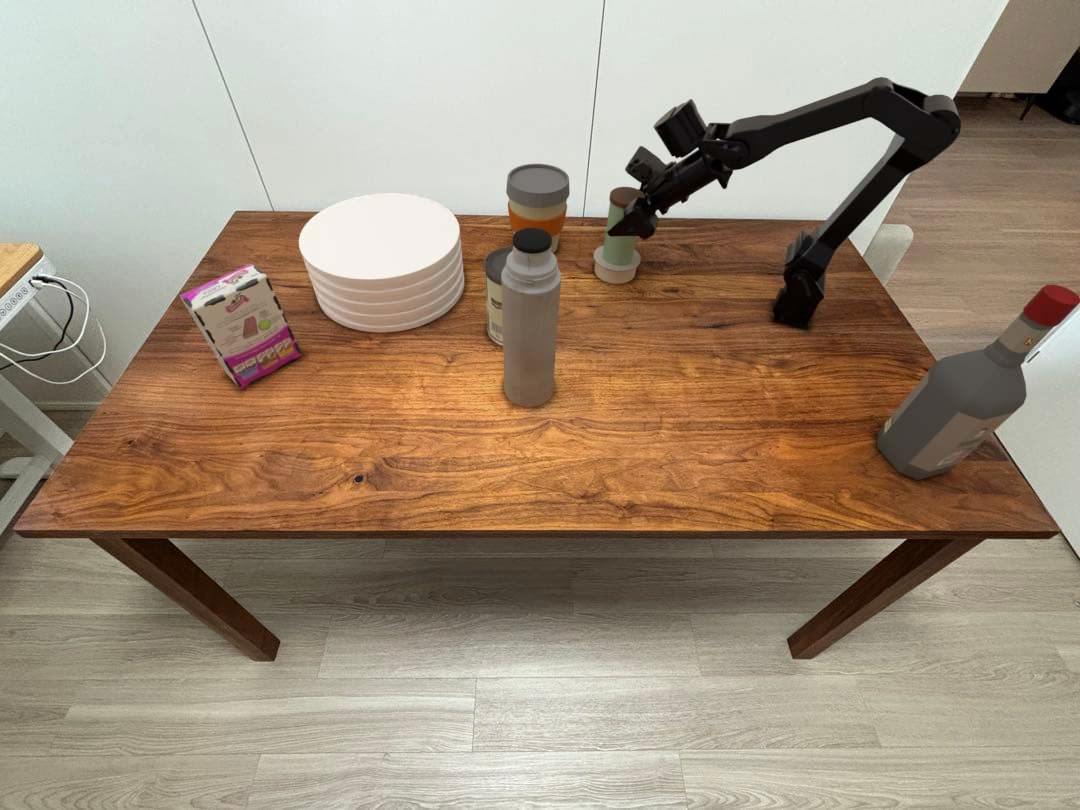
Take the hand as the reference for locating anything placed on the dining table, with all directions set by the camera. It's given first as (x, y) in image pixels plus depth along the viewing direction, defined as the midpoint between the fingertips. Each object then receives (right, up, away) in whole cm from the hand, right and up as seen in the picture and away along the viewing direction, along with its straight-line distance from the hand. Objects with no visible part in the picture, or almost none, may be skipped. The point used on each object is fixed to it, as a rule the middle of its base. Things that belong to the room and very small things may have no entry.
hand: (615, 222), depth 102 cm
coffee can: (-19, -21, -5) cm, 29 cm away
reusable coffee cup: (-15, -1, +13) cm, 20 cm away
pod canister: (+1, -5, +5) cm, 7 cm away
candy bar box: (-60, -28, -13) cm, 68 cm away
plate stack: (-43, -11, +3) cm, 45 cm away
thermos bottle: (-16, -32, -14) cm, 39 cm away
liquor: (+42, -42, -20) cm, 63 cm away
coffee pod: (+1, -7, +8) cm, 11 cm away
